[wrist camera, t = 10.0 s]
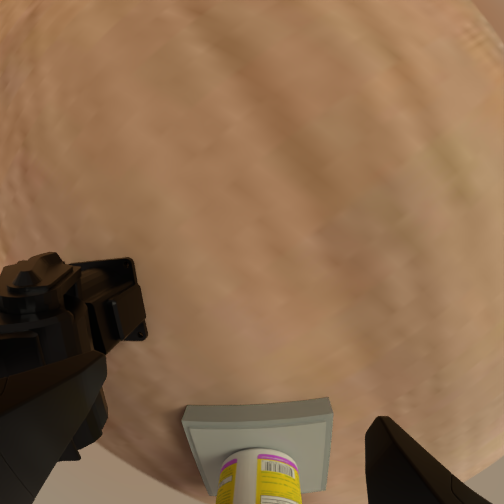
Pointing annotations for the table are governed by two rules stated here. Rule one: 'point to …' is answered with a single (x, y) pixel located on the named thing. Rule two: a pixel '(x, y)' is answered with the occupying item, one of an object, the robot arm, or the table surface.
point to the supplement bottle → (259, 478)
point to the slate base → (262, 437)
